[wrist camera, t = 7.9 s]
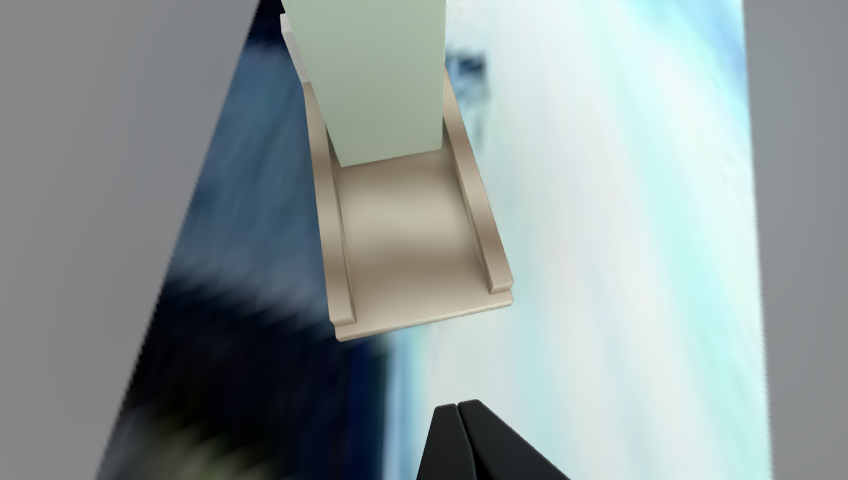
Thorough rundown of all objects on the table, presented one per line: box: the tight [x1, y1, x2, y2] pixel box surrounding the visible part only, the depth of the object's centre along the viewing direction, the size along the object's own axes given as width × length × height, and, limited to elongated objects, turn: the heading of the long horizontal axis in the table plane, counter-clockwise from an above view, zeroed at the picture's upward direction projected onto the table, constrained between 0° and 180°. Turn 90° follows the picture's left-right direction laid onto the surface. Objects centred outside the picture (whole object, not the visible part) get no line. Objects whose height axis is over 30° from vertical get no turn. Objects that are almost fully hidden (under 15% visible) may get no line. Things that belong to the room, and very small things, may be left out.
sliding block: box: [281, 0, 446, 167], centre depth 18 cm, size 5×6×15 cm
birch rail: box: [303, 63, 514, 342], centre depth 24 cm, size 17×9×2 cm, turn 12°
